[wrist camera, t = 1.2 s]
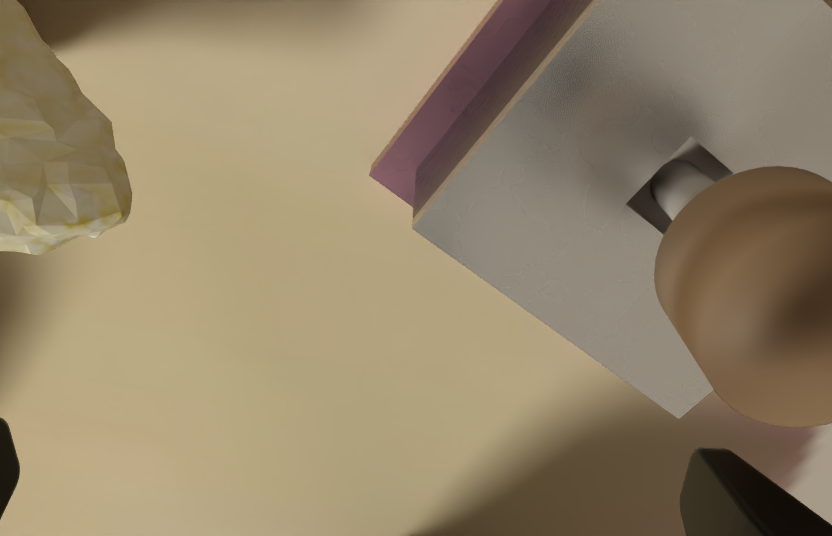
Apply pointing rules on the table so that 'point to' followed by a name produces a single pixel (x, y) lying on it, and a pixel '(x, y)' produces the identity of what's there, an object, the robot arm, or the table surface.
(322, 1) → the table surface
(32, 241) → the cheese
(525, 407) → the table surface
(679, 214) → the plunger
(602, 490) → the table surface
